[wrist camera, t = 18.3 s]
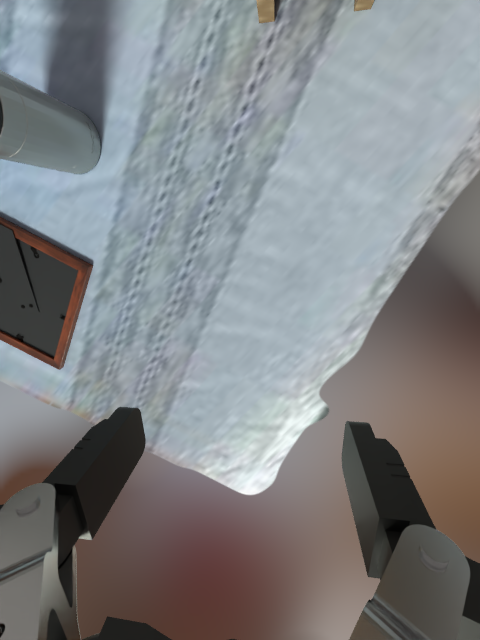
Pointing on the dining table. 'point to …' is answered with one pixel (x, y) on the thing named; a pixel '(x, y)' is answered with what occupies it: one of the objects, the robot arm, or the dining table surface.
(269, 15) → the rack
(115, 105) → the dining table surface
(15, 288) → the picture frame
